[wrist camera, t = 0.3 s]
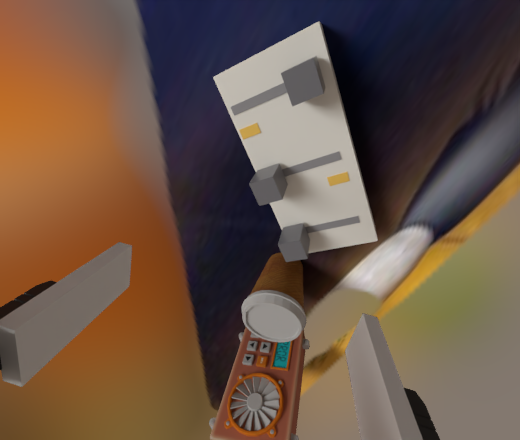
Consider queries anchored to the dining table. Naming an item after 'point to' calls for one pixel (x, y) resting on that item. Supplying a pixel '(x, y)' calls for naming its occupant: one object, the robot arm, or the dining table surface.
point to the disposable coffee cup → (276, 301)
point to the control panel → (262, 391)
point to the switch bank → (301, 142)
